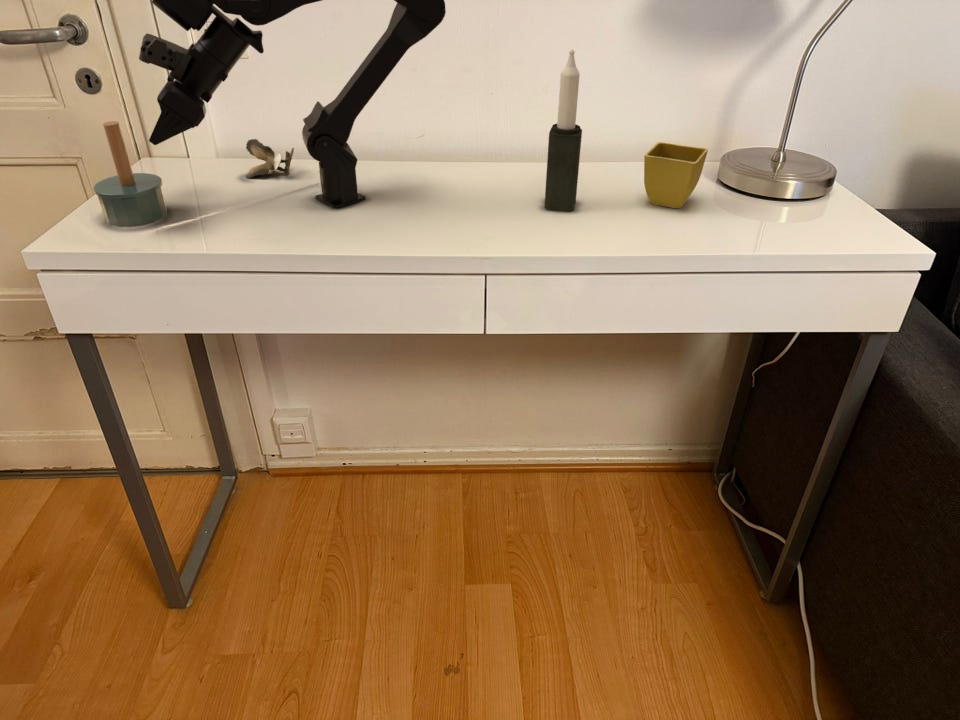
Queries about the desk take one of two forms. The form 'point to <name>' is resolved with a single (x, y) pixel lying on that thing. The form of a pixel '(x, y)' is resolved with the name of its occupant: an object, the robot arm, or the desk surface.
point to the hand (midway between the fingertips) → (155, 134)
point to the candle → (564, 145)
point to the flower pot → (672, 173)
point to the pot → (134, 209)
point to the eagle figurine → (266, 159)
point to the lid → (124, 171)
